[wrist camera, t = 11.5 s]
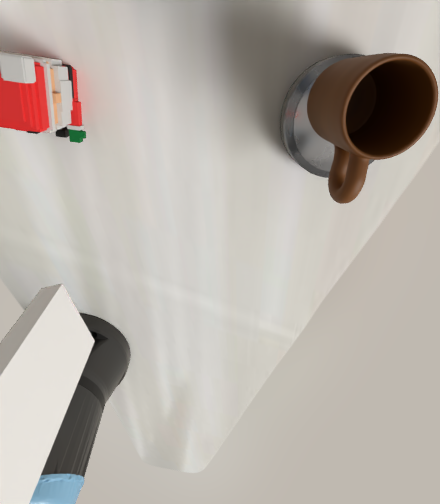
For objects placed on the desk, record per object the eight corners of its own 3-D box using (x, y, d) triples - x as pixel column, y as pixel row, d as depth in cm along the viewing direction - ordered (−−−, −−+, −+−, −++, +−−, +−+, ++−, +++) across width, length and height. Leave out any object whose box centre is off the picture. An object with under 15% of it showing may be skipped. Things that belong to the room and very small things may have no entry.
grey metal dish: (287, 182, 39) (293, 189, 37) (272, 72, 34) (278, 71, 31) (386, 158, 39) (400, 164, 36) (389, 41, 33) (405, 38, 30)
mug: (346, 187, 37) (387, 219, 29) (282, 174, 36) (306, 204, 28) (393, 68, 31) (461, 65, 23) (319, 49, 30) (363, 39, 22)
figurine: (13, 126, 35) (-68, 148, 24) (2, 50, 32) (-98, 37, 21) (95, 137, 36) (50, 163, 25) (92, 64, 33) (39, 58, 22)
